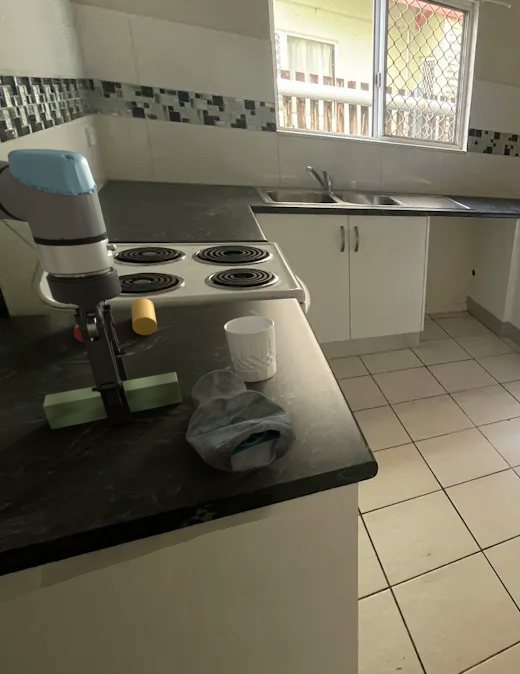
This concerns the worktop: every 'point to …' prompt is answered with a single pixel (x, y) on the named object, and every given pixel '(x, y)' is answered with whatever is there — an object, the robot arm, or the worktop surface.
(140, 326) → the yellow rod
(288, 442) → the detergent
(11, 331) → the worktop surface
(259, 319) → the white cup
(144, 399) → the green bar
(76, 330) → the red rod
